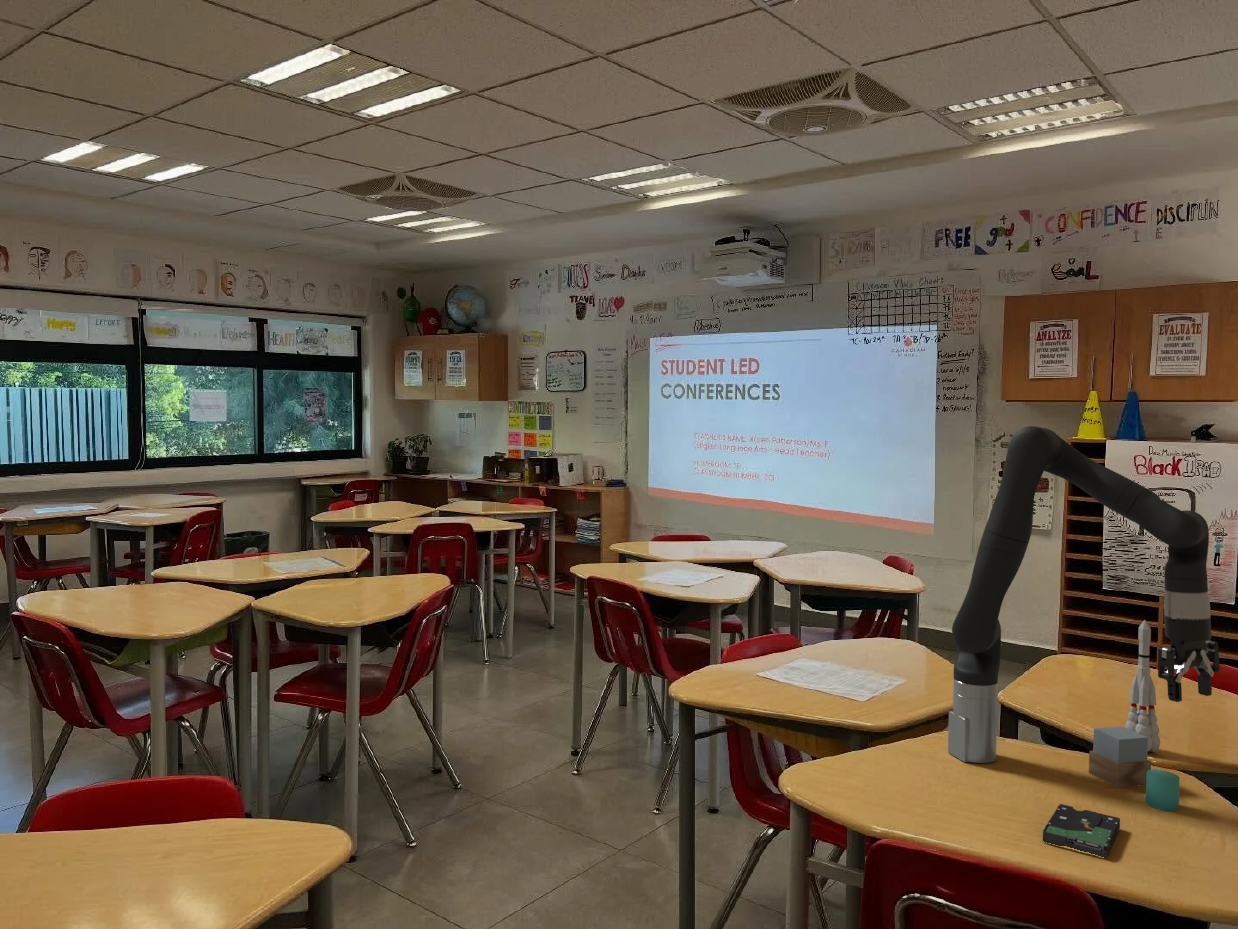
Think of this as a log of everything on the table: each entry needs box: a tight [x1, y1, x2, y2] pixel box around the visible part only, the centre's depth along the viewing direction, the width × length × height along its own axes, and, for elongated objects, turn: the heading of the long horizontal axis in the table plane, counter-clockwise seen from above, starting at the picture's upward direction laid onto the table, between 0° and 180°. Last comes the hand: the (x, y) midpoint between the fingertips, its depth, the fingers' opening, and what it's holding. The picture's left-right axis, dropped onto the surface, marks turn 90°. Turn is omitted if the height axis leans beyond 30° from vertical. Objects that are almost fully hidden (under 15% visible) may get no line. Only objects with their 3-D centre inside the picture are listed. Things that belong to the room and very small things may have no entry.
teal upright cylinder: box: [1145, 769, 1180, 812], centre depth 173 cm, size 6×6×6 cm
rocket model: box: [1124, 619, 1161, 753], centre depth 203 cm, size 7×7×30 cm
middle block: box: [1092, 725, 1149, 764], centre depth 186 cm, size 7×7×5 cm
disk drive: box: [1042, 803, 1121, 859], centre depth 160 cm, size 10×3×15 cm
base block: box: [1088, 750, 1152, 789], centre depth 187 cm, size 8×8×5 cm
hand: (1190, 698), depth 172 cm, fingers open, 8 cm apart
